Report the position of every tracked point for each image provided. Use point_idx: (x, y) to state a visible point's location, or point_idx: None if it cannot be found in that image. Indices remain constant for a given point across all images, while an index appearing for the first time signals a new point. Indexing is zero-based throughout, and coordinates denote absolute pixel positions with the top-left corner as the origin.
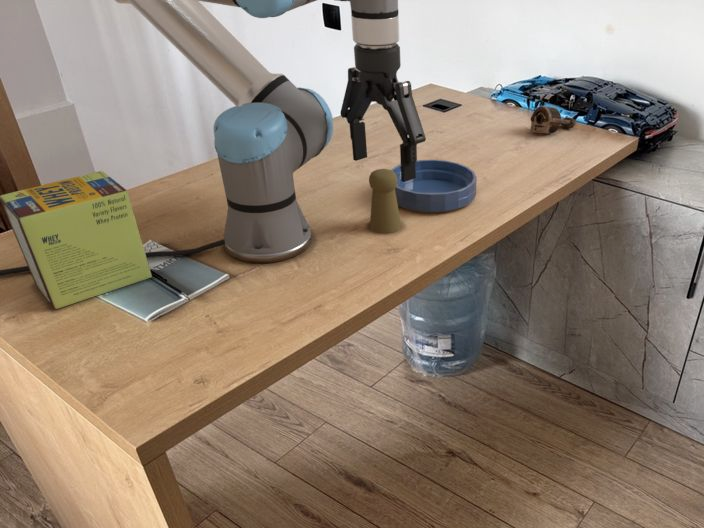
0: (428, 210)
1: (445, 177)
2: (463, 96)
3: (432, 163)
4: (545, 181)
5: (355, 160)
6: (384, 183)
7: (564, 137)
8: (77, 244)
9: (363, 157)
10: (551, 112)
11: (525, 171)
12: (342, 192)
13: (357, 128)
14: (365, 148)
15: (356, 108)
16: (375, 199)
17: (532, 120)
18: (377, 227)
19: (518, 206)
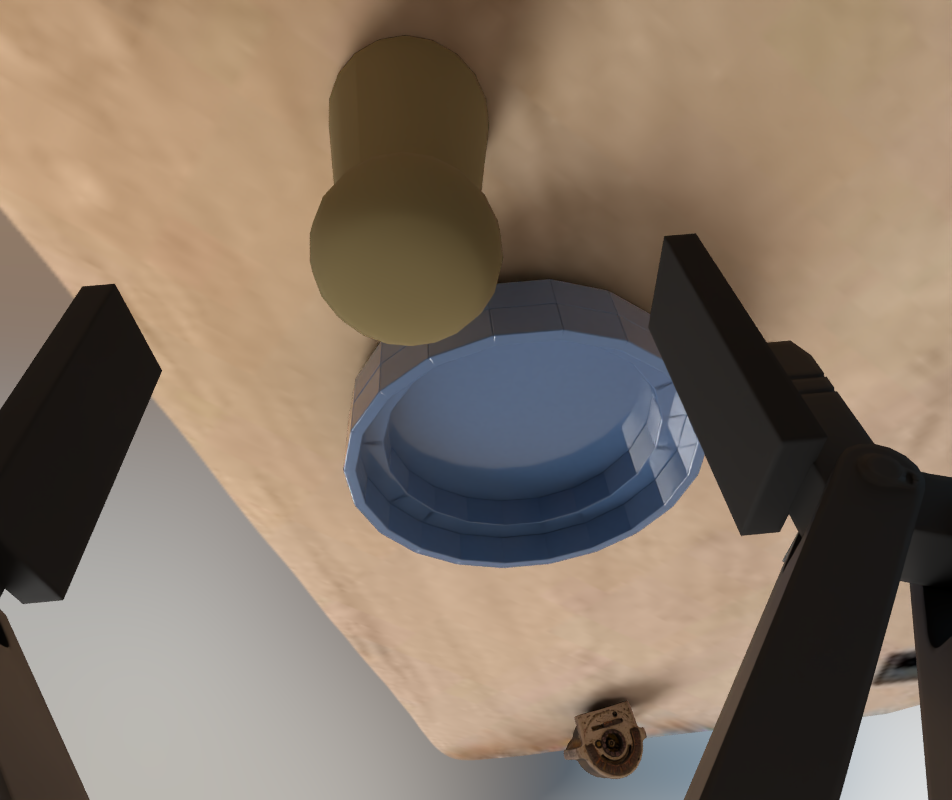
0: None
1: (565, 498)
2: (898, 701)
3: (629, 518)
4: (387, 624)
5: (669, 237)
6: (319, 222)
7: (553, 717)
8: None
9: (654, 304)
10: (592, 769)
11: (469, 623)
12: (849, 174)
13: (750, 449)
14: (668, 363)
15: (796, 660)
16: (393, 131)
17: (633, 730)
18: (372, 56)
19: (288, 532)
